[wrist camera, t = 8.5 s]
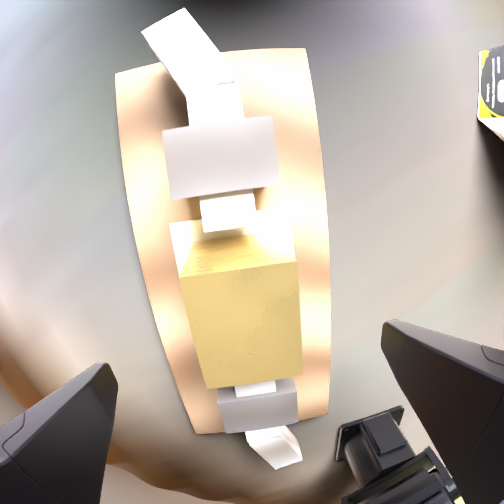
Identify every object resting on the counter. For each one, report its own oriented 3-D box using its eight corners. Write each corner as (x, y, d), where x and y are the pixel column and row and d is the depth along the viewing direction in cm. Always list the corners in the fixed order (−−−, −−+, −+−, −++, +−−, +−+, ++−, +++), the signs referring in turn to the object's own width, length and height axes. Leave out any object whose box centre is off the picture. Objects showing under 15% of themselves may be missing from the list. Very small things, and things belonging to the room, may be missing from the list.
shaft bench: (322, 410, 21) (341, 458, 16) (200, 428, 20) (198, 480, 15) (295, 42, 13) (323, -1, 8) (123, 66, 13) (86, 30, 8)
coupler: (273, 230, 15) (296, 260, 10) (281, 318, 16) (303, 374, 11) (193, 242, 14) (178, 277, 10) (210, 329, 16) (206, 389, 11)
